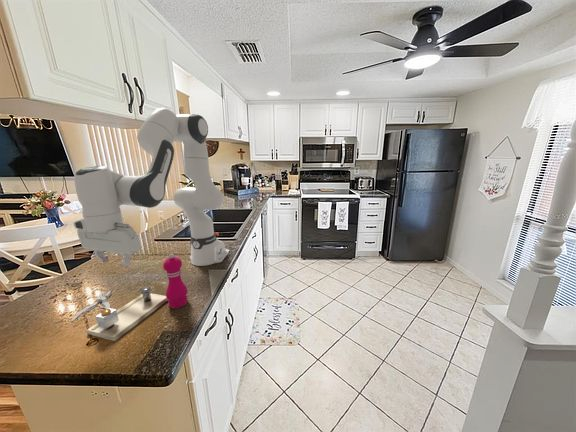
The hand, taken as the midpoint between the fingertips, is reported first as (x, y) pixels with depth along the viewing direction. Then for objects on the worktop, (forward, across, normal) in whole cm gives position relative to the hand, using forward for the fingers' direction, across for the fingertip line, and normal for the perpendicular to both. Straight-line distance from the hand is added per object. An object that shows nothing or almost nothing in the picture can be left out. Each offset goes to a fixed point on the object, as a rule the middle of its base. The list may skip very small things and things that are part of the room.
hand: (115, 263), depth 71 cm
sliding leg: (+19, 0, +6) cm, 20 cm away
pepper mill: (+21, -11, -11) cm, 26 cm away
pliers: (+21, +17, -2) cm, 28 cm away
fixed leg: (+19, 0, -8) cm, 21 cm away
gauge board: (+21, 0, -1) cm, 21 cm away
